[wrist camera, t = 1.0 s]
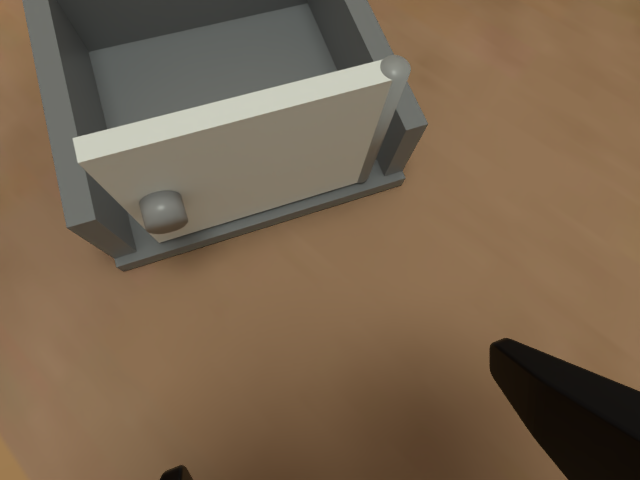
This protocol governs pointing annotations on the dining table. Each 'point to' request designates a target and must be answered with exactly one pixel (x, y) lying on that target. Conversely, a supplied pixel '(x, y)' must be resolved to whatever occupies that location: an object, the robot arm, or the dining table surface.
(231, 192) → the side door
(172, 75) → the grey open box
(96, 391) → the dining table surface
